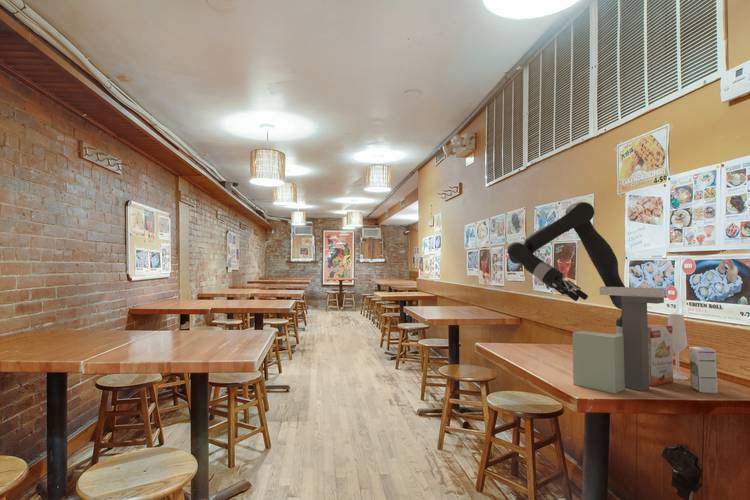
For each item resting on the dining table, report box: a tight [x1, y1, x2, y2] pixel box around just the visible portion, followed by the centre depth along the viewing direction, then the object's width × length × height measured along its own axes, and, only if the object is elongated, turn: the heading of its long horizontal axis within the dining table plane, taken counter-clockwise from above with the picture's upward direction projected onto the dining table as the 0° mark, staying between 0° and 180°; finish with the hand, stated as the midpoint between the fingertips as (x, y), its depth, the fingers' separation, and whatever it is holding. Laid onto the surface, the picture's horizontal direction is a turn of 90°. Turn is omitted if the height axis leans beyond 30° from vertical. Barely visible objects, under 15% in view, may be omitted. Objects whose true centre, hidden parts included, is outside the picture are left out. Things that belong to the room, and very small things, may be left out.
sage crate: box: [572, 330, 626, 394], centre depth 149 cm, size 14×8×18 cm, turn 40°
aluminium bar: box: [599, 286, 666, 298], centre depth 150 cm, size 20×3×3 cm, turn 40°
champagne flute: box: [667, 313, 689, 381], centre depth 163 cm, size 7×7×24 cm
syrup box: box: [688, 346, 719, 394], centre depth 145 cm, size 6×6×14 cm
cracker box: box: [648, 323, 674, 387], centre depth 155 cm, size 14×6×21 cm, turn 117°
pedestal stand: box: [621, 296, 665, 392], centre depth 146 cm, size 11×7×32 cm, turn 40°
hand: (582, 298), depth 163 cm, fingers open, 8 cm apart
